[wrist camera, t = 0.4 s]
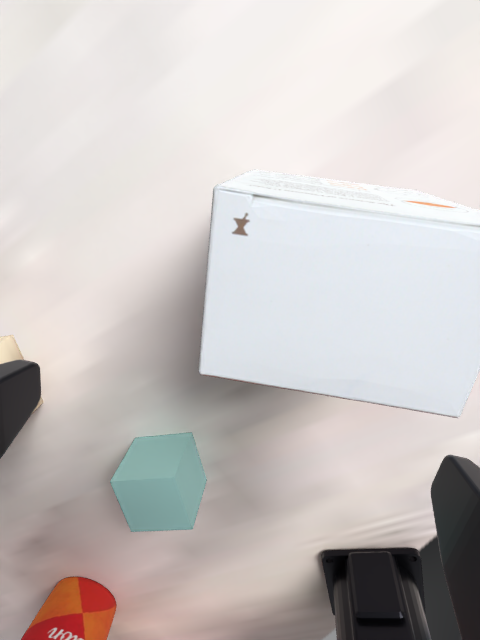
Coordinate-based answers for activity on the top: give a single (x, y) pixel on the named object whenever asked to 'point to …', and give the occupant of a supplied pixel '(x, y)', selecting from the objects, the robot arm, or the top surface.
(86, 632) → the paper cup
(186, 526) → the teal cube
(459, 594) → the robot arm
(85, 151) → the top surface
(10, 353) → the birch lower block
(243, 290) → the small box
